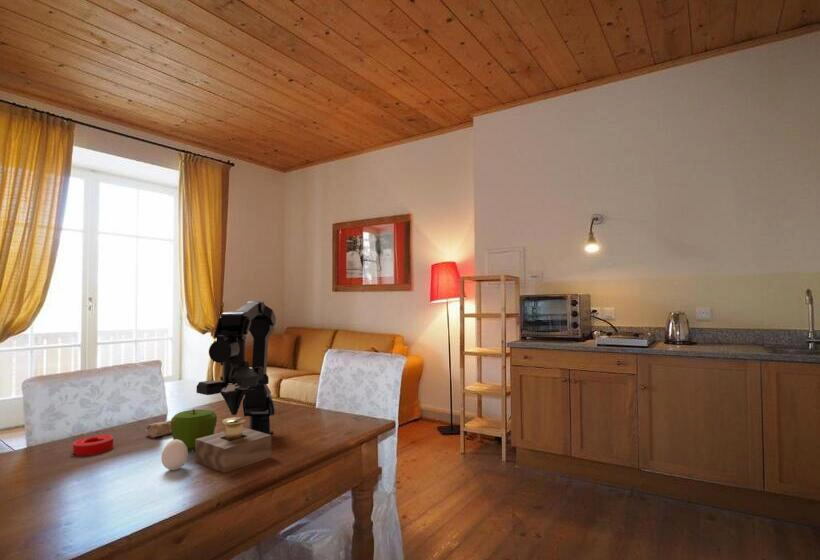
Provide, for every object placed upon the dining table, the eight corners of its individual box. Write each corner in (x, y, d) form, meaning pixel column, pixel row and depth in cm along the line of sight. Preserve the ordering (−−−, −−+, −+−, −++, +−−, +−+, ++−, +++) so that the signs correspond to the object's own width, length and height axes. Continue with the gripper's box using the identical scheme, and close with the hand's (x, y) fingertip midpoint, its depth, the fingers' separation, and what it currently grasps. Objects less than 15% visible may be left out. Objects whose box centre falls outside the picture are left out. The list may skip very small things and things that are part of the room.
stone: (143, 435, 147) (143, 421, 147) (178, 428, 154) (178, 415, 154) (150, 441, 141) (150, 426, 141) (186, 434, 148) (186, 420, 148)
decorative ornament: (64, 456, 128) (64, 444, 128) (89, 445, 138) (90, 434, 138) (97, 456, 128) (97, 444, 128) (120, 444, 137) (120, 434, 137)
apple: (223, 446, 134) (223, 408, 134) (180, 457, 125) (180, 416, 125) (205, 438, 142) (206, 402, 143) (164, 447, 133) (164, 409, 134)
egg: (183, 463, 120) (183, 434, 121) (191, 469, 116) (191, 439, 116) (158, 469, 116) (158, 439, 116) (165, 476, 112) (165, 445, 112)
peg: (217, 444, 123) (217, 420, 123) (237, 438, 127) (237, 416, 128) (230, 448, 119) (230, 424, 119) (249, 442, 124) (250, 419, 124)
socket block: (195, 461, 122) (195, 439, 122) (241, 447, 133) (241, 426, 133) (224, 473, 113) (224, 448, 113) (271, 456, 124) (271, 434, 125)
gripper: (219, 364, 112) (218, 427, 111) (280, 355, 127) (280, 411, 126) (195, 360, 118) (195, 420, 118) (256, 353, 133) (256, 406, 133)
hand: (234, 414), depth 124 cm, fingers closed
